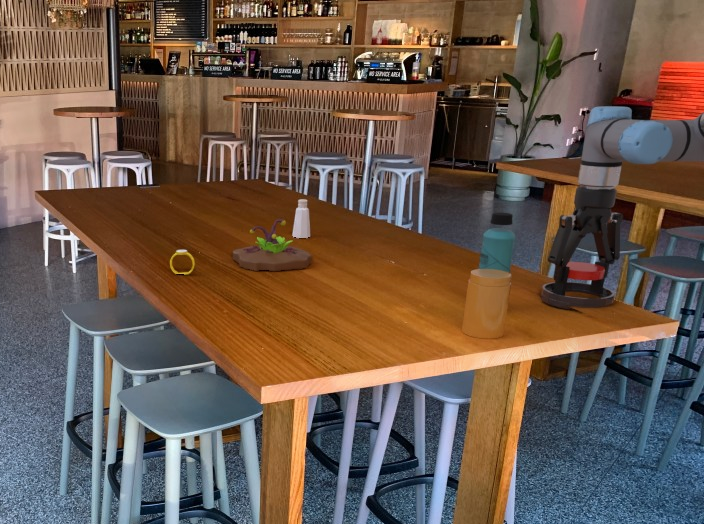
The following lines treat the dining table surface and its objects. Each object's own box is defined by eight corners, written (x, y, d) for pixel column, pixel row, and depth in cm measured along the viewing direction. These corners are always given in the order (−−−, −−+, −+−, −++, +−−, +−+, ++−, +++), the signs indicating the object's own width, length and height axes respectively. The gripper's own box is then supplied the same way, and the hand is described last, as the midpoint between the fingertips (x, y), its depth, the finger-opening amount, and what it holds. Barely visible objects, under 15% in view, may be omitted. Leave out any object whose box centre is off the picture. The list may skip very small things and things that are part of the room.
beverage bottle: (488, 302, 171) (501, 209, 164) (512, 310, 166) (527, 214, 158) (465, 306, 169) (478, 211, 161) (489, 314, 163) (503, 216, 156)
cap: (548, 272, 171) (550, 263, 170) (583, 269, 173) (584, 260, 172) (577, 281, 163) (578, 272, 162) (612, 278, 165) (614, 269, 164)
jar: (511, 336, 149) (521, 276, 145) (476, 340, 148) (485, 279, 143) (487, 325, 156) (496, 267, 152) (453, 328, 154) (461, 270, 150)
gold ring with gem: (195, 273, 196) (195, 249, 194) (193, 276, 193) (193, 252, 191) (171, 272, 197) (171, 249, 194) (169, 275, 194) (169, 251, 192)
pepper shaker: (302, 234, 241) (304, 197, 237) (314, 237, 237) (316, 200, 233) (288, 236, 238) (290, 199, 234) (299, 239, 234) (301, 201, 230)
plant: (320, 270, 199) (323, 225, 195) (244, 273, 196) (245, 227, 192) (298, 252, 217) (300, 211, 213) (228, 255, 214) (229, 213, 210)
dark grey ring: (627, 309, 166) (630, 296, 165) (569, 315, 162) (572, 301, 161) (580, 292, 178) (582, 279, 177) (526, 297, 175) (528, 284, 174)
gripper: (626, 182, 167) (606, 286, 175) (539, 186, 162) (522, 293, 170) (654, 187, 160) (632, 295, 169) (564, 191, 155) (546, 302, 163)
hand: (577, 294), depth 169 cm, fingers closed on cap, 9 cm apart
